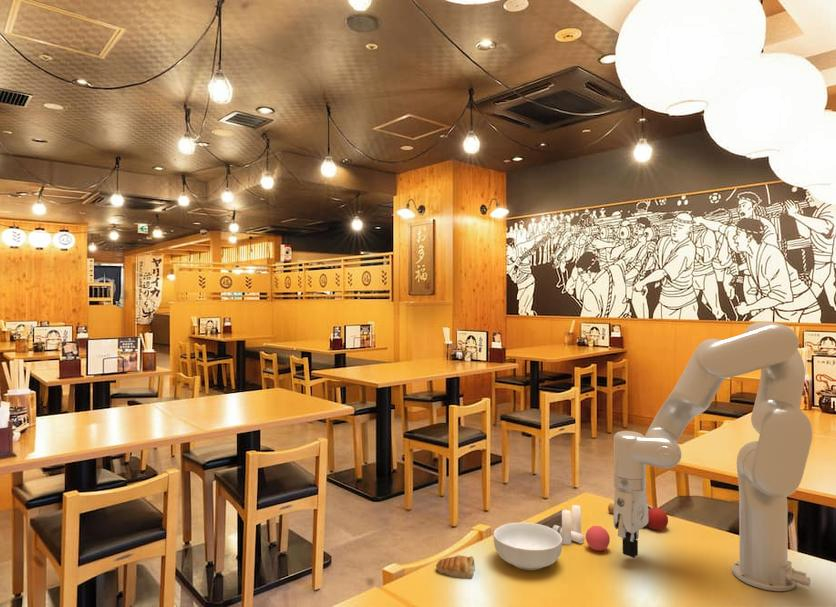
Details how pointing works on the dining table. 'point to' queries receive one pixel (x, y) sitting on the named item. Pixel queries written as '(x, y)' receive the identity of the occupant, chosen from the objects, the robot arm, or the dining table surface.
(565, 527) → the pin
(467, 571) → the pastry
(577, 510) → the pin
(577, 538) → the front pin
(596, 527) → the ball
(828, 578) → the dining table surface
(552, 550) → the cereal bowl
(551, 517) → the wall
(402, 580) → the dining table surface
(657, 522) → the kendama
